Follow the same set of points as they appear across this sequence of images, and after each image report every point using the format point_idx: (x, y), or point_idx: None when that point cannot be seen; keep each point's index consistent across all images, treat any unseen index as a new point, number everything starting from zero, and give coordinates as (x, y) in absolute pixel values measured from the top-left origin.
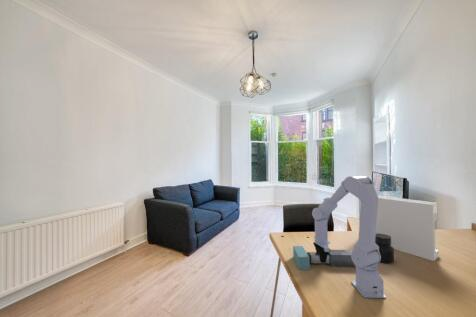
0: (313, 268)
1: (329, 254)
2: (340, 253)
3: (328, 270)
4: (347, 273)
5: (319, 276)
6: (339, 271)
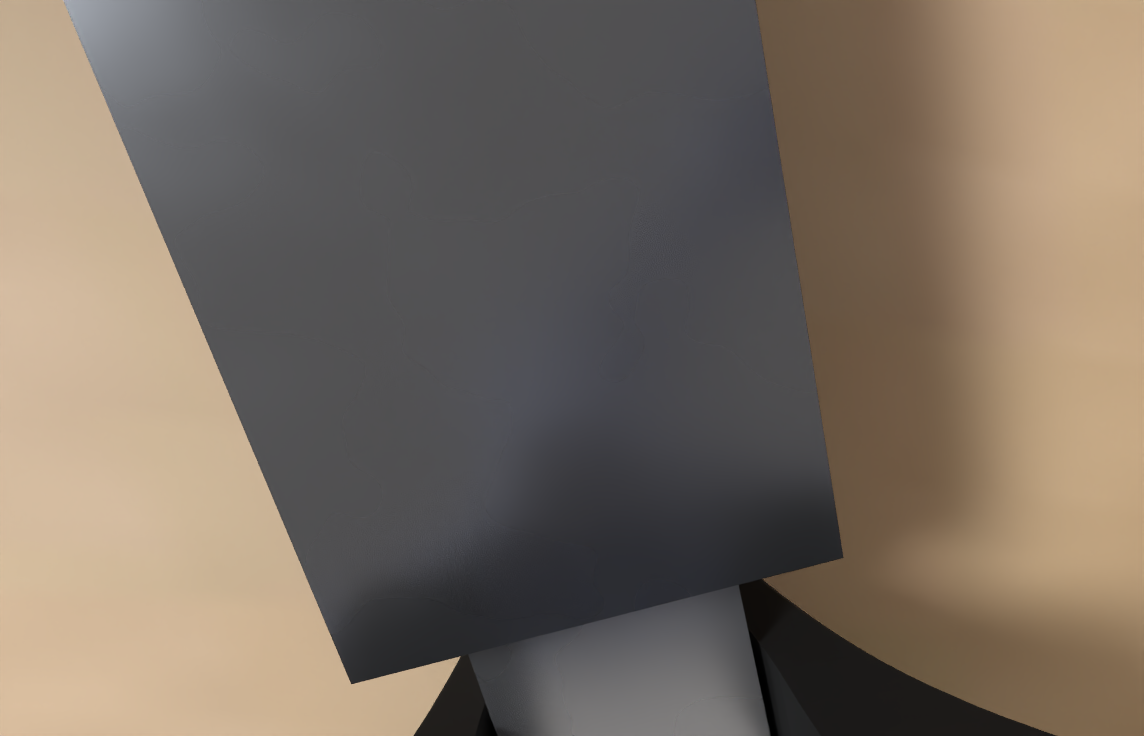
0: None
1: None
2: (609, 104)
3: (888, 472)
4: (957, 66)
5: (1127, 642)
6: (893, 245)
